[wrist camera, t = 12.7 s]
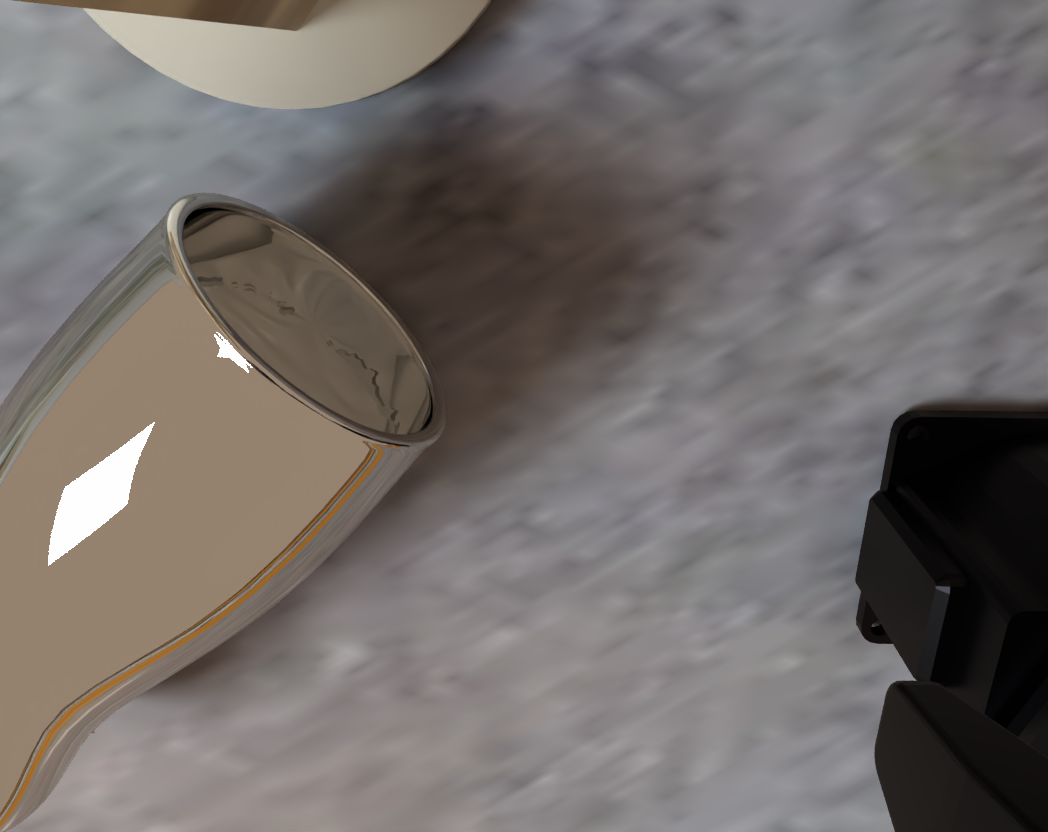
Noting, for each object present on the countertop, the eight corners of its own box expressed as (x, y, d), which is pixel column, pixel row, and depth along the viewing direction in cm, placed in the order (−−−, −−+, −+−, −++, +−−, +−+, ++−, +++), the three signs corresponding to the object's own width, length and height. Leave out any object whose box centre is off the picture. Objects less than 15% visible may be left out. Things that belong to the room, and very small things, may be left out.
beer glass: (-259, 887, 17) (189, 375, 12) (-213, 590, 21) (134, 125, 16) (90, 860, 22) (501, 493, 17) (72, 627, 26) (398, 280, 22)
